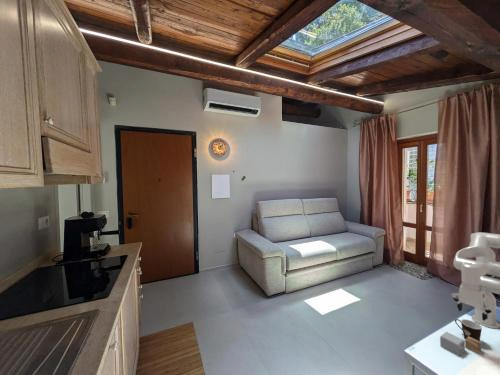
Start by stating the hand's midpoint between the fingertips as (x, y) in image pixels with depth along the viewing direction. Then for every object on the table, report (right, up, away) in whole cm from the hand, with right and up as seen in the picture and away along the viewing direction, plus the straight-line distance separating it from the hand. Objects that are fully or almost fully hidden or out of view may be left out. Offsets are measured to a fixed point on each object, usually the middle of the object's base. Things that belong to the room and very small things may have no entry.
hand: (471, 314), depth 117 cm
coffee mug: (+7, -20, +8) cm, 23 cm away
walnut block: (+1, -20, 0) cm, 20 cm away
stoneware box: (-10, -21, +2) cm, 23 cm away
